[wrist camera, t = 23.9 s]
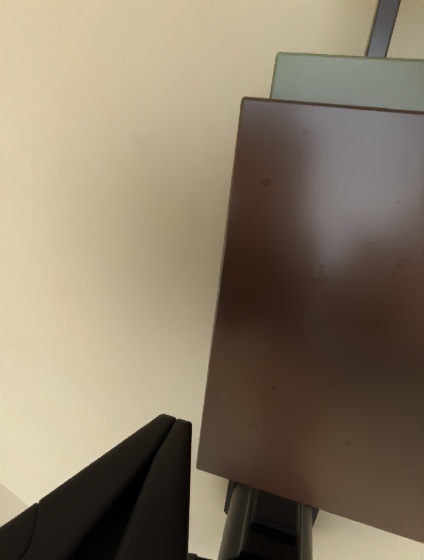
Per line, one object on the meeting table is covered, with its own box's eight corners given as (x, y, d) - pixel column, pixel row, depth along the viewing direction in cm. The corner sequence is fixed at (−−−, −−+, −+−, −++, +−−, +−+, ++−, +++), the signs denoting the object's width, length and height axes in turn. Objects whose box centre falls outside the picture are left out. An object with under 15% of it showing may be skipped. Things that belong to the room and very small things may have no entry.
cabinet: (273, 123, 16) (240, 95, 8) (579, 153, 14) (943, 153, 6) (236, 354, 21) (195, 469, 14) (452, 408, 19) (553, 587, 11)
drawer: (311, -38, 13) (315, -208, 7) (672, -39, 11) (1165, -298, 5) (248, 333, 19) (220, 415, 13) (463, 383, 17) (549, 510, 11)
